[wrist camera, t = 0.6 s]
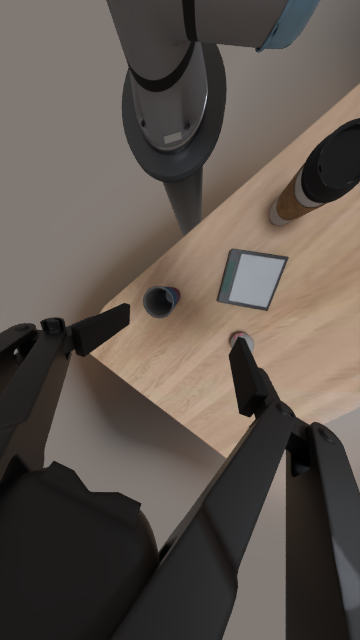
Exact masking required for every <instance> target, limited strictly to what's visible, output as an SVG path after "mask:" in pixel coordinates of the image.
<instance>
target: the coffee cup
mask: <svg viewBox="0 0 360 640" xmlns="http://www.w3.org/2000/svg"><path fill="white" fill-rule="evenodd" d="M359 182H360V118H358V119H354V120H352V121H349V122H347V123H345V124H344V125H342V126H340V127H339V128H338V129H337V130H335V131H334V132H333V133H332V134H330V135H329V136H327V137H326V138H325V139H324V140H323V141H321V143H320V144H318V145H317V146H316V148H315V149H314V150H313V151H312V152H311V154H310V155H309V157H308V158H307V160H306V162H305V163H304V165H303V166H302V167H301V168H300V170H299V171H298V172H297V174H296V175H295V176H294V178H293V179H292V180H291V182H290V183H289V184H288V186H287V187H286V188H285V190H284V191H283V192H282V194H281V195H280V196H279V198H278V199H277V200H276V201H275V203H274V204H273V205H272V207H271V209H270V214H269V215H270V220H271V222H272V223H273V224H275V225H278V226H281V225H285V224H287V223H289V222H291V221H292V220H294V219H297V218H299V217H301V216H303V215H305V214H307V213H309V212H311V211H313V210H315V209H317V208H319V207H321V206H323V205H325V204H327V203H329V202H332V201H335V200H337V199H339V198H340V197H342V196H343V195H345V194H346V193H347V192H349V191H350V190H352V189H353V188H354V187H355V186H356V185H357V184H358V183H359Z"/></svg>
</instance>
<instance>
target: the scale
mask: <svg viewBox="0 0 360 640" xmlns="http://www.w3.org/2000/svg"><path fill="white" fill-rule="evenodd" d="M288 258H289V257H286V256H279V255H272V254H265V253H258V252H252V251H245V250H238V249H231V250H230V252H229V255H228V259H227V263H226V267H225V271H224V275H223V279H222V283H221V286H220V290H219V294H218V298H217V301H218V302H222V303H228V304H233V305H238V306H244V307H249V308H254V309H260V310H265V311H268V308H269V306H270V303H271V301H272V298H273V296H274V293H275V291H276V288H277V286H278V283H279V281H280V278H281V275H282V273H283V270H284V268H285V265H286V263H287V260H288Z"/></svg>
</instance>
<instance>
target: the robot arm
mask: <svg viewBox="0 0 360 640" xmlns="http://www.w3.org/2000/svg"><path fill="white" fill-rule="evenodd" d="M106 1H107V3H108V7H109V10H110V13H111V15H112V19H113V21H114V24H115V27H116V31H117V34H118V36H119V39H120V42H121V45H122V48H123V51H124V54H125V57H126V60H127V63H128V66H129V71H130V78H131V85H132V92H133V100H134V107H135V112H136V117H137V121H138V124H139V126H140V129H141V131H142V134H143V136H144V138H145V140H146V141H147V143H148V144H149V145H150V147H152V148H153V149H154V150H155V151H157V152H159V153H161V154H166V155H171V154H176V153H178V152H180V151H182V150H184V149H185V148H186V147H188V146H189V145H190V144H191V142H192V141H193V140H194V139H195V137H196V136H197V134H198V132H199V130H200V128H201V126H202V123H203V120H204V116H205V112H206V105H207V75H206V67H205V62H204V57H203V52H202V47H201V42H204V43H214V44H224V45H234V46H244V47H254V48H256V49H255V50H256V52H261V51H263V50H264V49H283V48H286V47H288V46H289V45H290V44H291V43H292V42H293V41H294V40H295V39H296V38H297V37H298V36H299V35H300V33H301V32H302V31H303V29H304V28H305V26H306V24H307V23H308V21H309V20H310V18H311V16H312V14H313V13H314V11H315V9H316V7H317V5H318V3H319V1H320V0H106ZM129 321H130V305H129V304H126V303H123V304H121V305H119V306H117V307H114V308H112V309H110V310H108V311H105V312H103V313H101V314H99V315H96V316H93V317H89V318H86V319H84V320H82V321H80V322H77V323H75V324H72V325H70V326H68V327H66V326H65V322H64V320H63V319H62V318H48V319H44V320H42V321H41V322H40V323H41V326H42V329H43V330H37V329H36V326H35V325H34V324H30V323H27V324H25V323H24V324H18V325H15V326H12V327H10V328H9V329H7V330H5V331H3V332H1V333H0V640H222V638H223V635H224V632H225V629H226V626H227V623H228V621H229V618H230V615H231V612H232V609H233V606H234V602H235V599H236V594H237V588H238V580H237V574H238V569H239V566H240V563H241V560H242V558H243V555H244V553H245V550H246V548H247V545H248V542H249V540H250V537H251V535H252V532H253V530H254V527H255V524H256V522H257V519H258V516H259V514H260V512H261V509H262V506H263V504H264V501H265V499H266V496H267V493H268V491H269V488H270V486H271V483H272V481H273V478H274V475H275V473H276V470H277V468H278V465H279V463H280V460H281V457H282V455H283V452H284V450H285V449H286V640H360V492H359V489H358V487H357V484H356V481H355V478H354V475H353V472H352V469H351V466H350V464H349V460H348V458H347V455H346V452H345V449H344V446H343V444H342V443H341V441H340V440H339V438H338V437H337V436H336V435H335V434H334V433H333V432H332V431H331V430H330V429H328V428H327V427H325V426H324V425H322V424H320V423H318V422H313V423H312V424H310V425H309V424H307V423H305V422H304V421H302V420H300V419H299V418H297V417H296V416H295V414H294V412H293V411H292V410H291V408H290V407H289V406H288V405H286V404H285V403H284V402H282V401H281V400H280V398H279V396H278V394H277V392H276V391H275V389H274V387H273V385H272V383H271V381H270V379H269V377H268V375H267V373H266V372H265V371H264V370H263V369H262V368H258V367H257V364H256V362H255V360H254V358H253V355H252V353H251V351H250V349H249V346H248V344H247V342H246V340H245V338H241V337H238V338H237V340H236V342H235V344H234V346H233V348H232V350H231V352H230V354H229V360H230V365H231V371H232V376H233V382H234V387H235V392H236V398H237V403H238V409H239V414H242V415H244V416H247V417H251V416H252V415H253V413H254V415H255V418H256V419H255V420H254V422H253V423H252V424H251V425H250V426H249V429H248V430H247V431H246V433H245V434H244V436H243V437H242V438H241V440H240V441H239V442H238V444H237V445H236V447H235V448H234V449H233V451H232V452H231V454H230V455H229V456H228V458H227V459H226V461H225V462H224V463H223V465H222V466H221V467H220V469H219V470H218V472H217V473H216V474H215V476H214V477H213V479H212V480H211V481H210V483H209V484H208V486H207V487H206V488H205V490H204V491H203V493H202V494H201V495H200V497H199V498H198V499H197V501H196V502H195V504H194V505H193V506H192V508H191V509H190V511H189V512H188V514H187V515H186V516H185V517H184V519H183V520H182V521H181V522H180V524H179V525H178V526H177V527H176V529H175V530H174V531H173V533H172V534H171V535H170V537H169V538H168V540H167V541H166V542H165V544H164V545H163V547H162V548H161V549H160V551H159V552H158V549H157V545H156V540H155V537H154V534H153V531H152V529H151V526H150V524H149V522H148V520H147V518H146V517H145V515H144V514H143V512H142V511H141V510H140V506H141V503H139V502H137V501H135V500H133V499H131V498H129V497H127V496H125V495H123V494H121V493H119V492H90V491H89V490H88V489H87V488H86V486H85V485H84V484H83V482H82V481H81V480H80V478H79V477H78V475H77V474H76V473H75V471H74V470H72V469H70V468H68V467H66V466H64V465H62V464H59V463H57V462H55V461H53V462H52V464H51V465H50V466H49V467H47V468H43V465H44V449H45V444H46V441H47V438H48V434H49V431H50V427H51V424H52V420H53V417H54V413H55V410H56V407H57V403H58V400H59V396H60V393H61V390H62V386H63V383H64V379H65V376H66V372H67V369H68V366H69V362H70V359H71V355H72V353H71V351H72V350H74V349H75V350H76V354H77V355H80V356H83V357H85V356H86V355H88V354H89V353H90V352H92V351H93V350H95V349H96V348H97V347H99V346H100V345H101V344H103V343H104V342H105V341H107V340H108V339H110V338H111V337H112V336H114V335H115V334H116V333H118V332H119V331H121V330H122V329H123V328H125V327H126V326H127V325H129ZM16 348H17V350H18V352H17V353H16V354H15V355H14V351H15V349H16ZM138 513H139V514H138ZM136 520H137V521H136Z"/></svg>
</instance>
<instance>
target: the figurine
mask: <svg viewBox="0 0 360 640" xmlns="http://www.w3.org/2000/svg"><path fill="white" fill-rule="evenodd" d="M238 337H241V338H245V340H246V342H247V344H248V346H249V349H250V351H251V353H252V351H253V349H254V341H253V339H252V338H251V337H250V336H249V335H247V334H245V333H238V334H236V335H234V336H233V337H232V339H231V347H232V348H233V346H234V344H235V342H236V340H237V338H238Z"/></svg>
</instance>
